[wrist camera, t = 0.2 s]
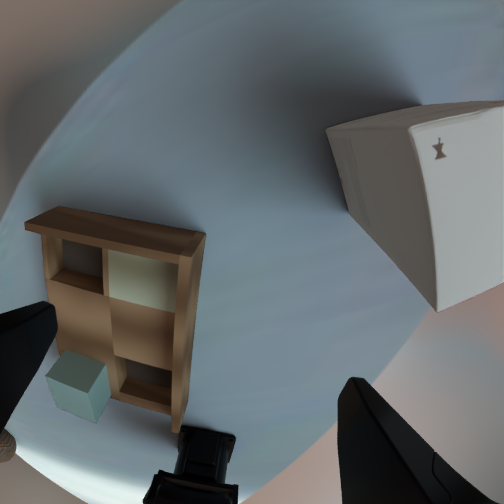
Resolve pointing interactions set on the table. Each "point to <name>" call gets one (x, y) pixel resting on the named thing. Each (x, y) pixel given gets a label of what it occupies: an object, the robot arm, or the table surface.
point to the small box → (430, 193)
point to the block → (79, 385)
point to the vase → (7, 446)
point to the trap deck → (125, 301)
